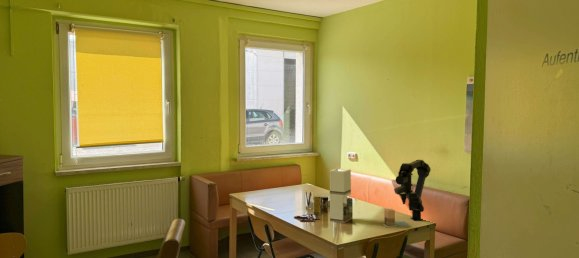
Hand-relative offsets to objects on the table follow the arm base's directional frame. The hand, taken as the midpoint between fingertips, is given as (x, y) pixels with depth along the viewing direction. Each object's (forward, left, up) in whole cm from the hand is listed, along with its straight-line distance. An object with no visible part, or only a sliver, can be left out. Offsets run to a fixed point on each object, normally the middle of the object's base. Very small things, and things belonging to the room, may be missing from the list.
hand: (407, 205), depth 286 cm
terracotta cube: (+3, -14, -6) cm, 16 cm away
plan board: (+3, -10, -12) cm, 16 cm away
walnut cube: (+3, -14, -11) cm, 18 cm away
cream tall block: (-19, -40, -12) cm, 46 cm away
